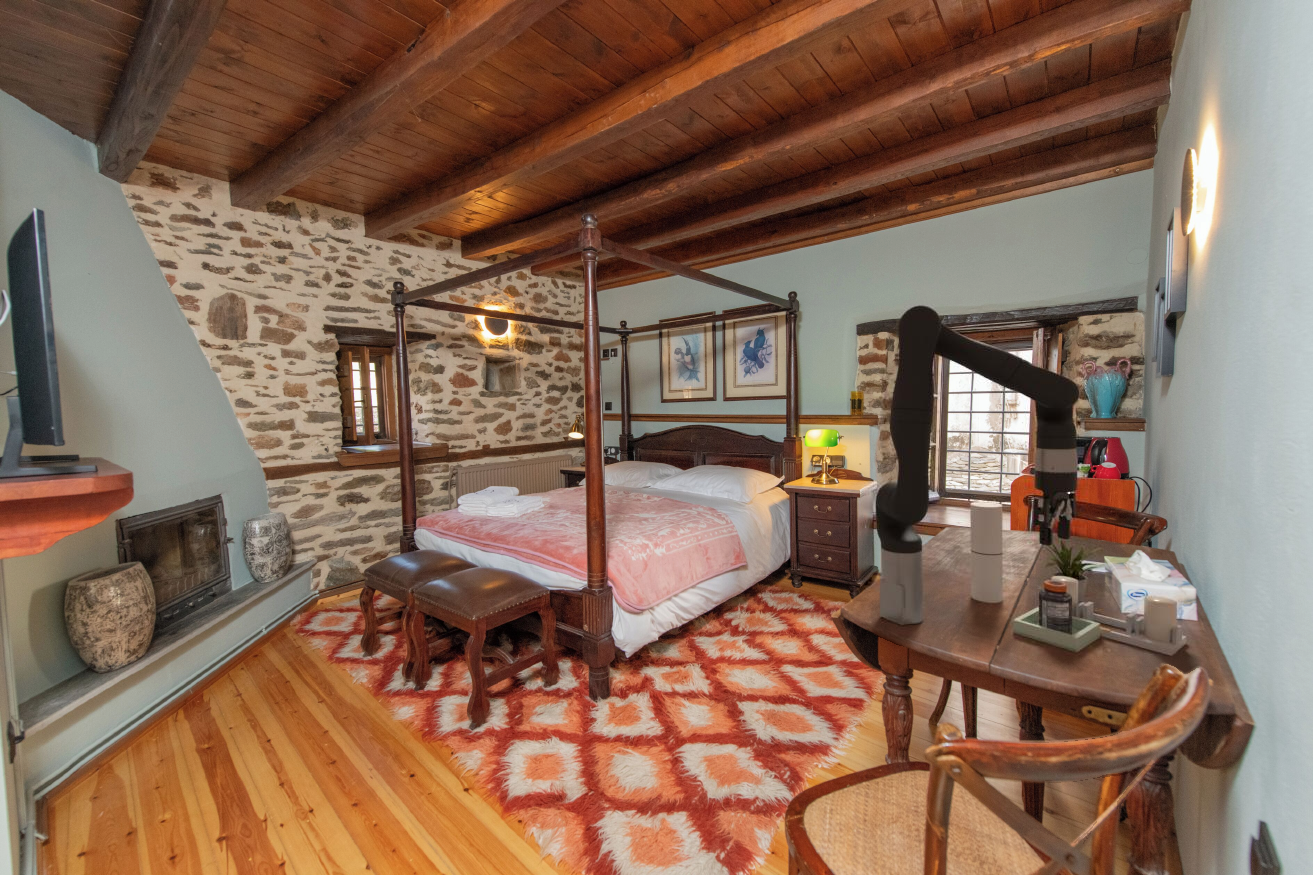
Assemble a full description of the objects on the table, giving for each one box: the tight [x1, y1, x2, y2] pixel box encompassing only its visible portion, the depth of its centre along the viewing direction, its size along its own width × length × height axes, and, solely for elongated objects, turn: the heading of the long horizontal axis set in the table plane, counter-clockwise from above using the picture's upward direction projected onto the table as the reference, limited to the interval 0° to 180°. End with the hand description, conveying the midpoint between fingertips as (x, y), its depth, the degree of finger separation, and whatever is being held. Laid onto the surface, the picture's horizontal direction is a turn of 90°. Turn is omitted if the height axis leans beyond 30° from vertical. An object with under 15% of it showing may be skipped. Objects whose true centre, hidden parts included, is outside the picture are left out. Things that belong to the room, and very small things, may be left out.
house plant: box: [1037, 538, 1103, 604], centre depth 138 cm, size 14×14×16 cm
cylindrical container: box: [969, 501, 1004, 604], centre depth 141 cm, size 7×7×25 cm
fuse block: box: [1051, 576, 1187, 656], centre depth 119 cm, size 9×23×10 cm, turn 32°
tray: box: [1012, 606, 1101, 653], centre depth 119 cm, size 12×12×3 cm
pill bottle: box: [1038, 579, 1072, 635], centre depth 118 cm, size 6×6×11 cm
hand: (1055, 541), depth 118 cm, fingers open, 8 cm apart
